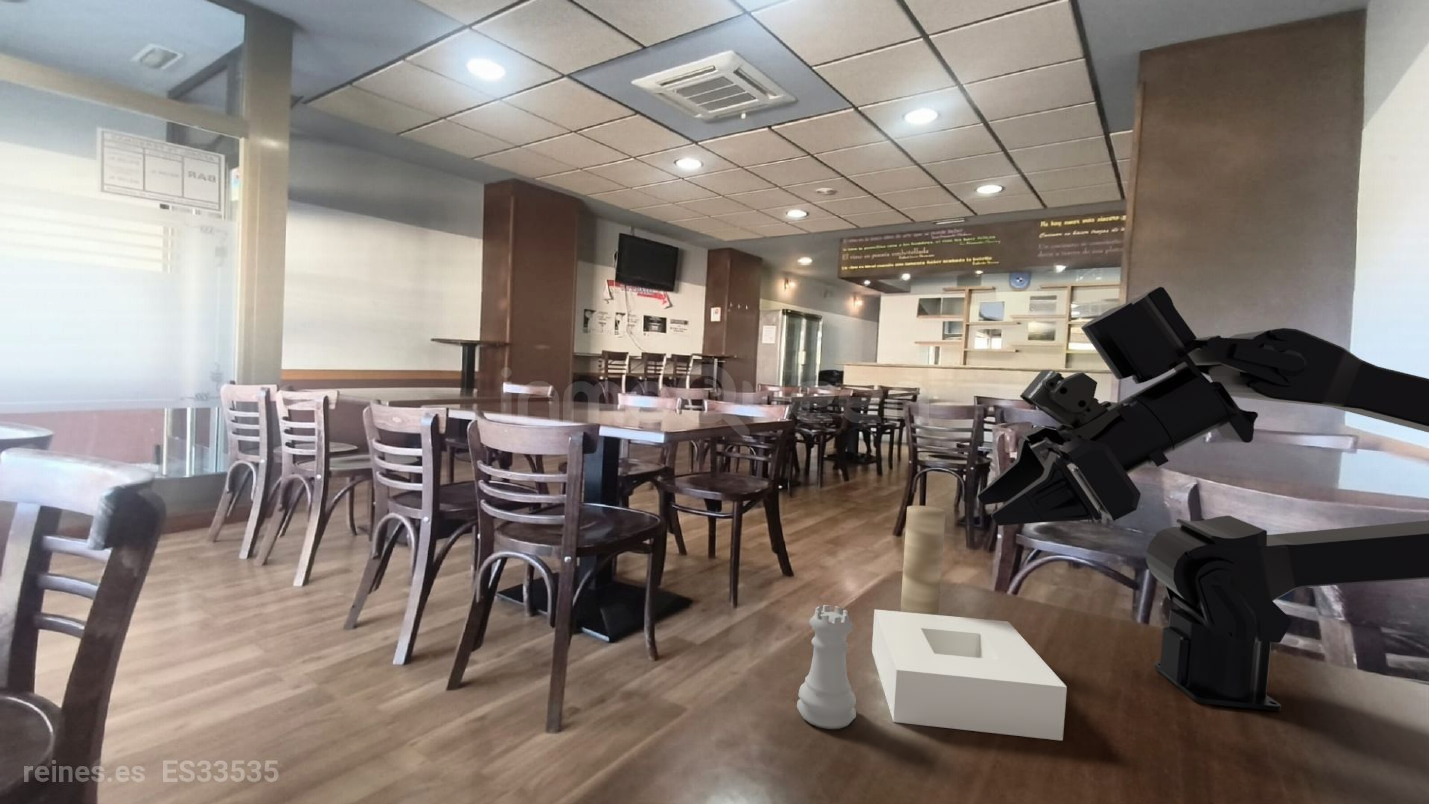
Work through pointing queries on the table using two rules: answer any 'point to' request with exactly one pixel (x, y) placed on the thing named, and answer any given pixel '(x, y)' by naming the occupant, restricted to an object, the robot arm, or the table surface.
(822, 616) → the rook chess piece
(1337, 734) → the table surface
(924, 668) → the block
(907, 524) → the peg
